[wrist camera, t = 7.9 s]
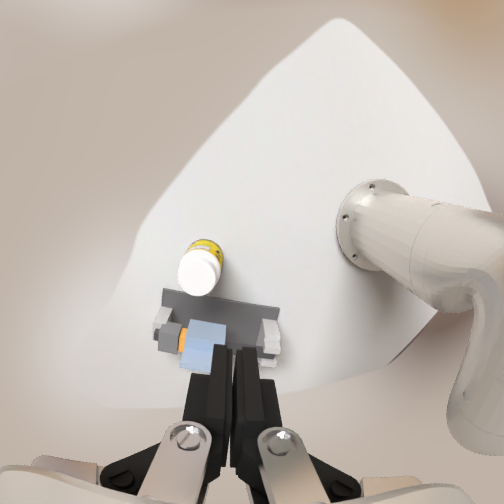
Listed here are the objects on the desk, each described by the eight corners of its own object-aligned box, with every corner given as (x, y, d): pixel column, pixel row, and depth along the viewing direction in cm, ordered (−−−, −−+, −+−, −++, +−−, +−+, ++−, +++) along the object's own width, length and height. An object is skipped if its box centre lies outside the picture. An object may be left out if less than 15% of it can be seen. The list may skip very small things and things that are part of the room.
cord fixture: (279, 307, 39) (286, 333, 33) (266, 354, 41) (271, 383, 35) (163, 288, 38) (149, 310, 31) (160, 336, 40) (148, 364, 33)
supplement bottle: (223, 274, 38) (219, 301, 30) (187, 273, 37) (175, 299, 29) (223, 238, 36) (219, 256, 28) (186, 237, 36) (172, 255, 28)
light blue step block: (226, 325, 36) (224, 358, 29) (221, 350, 37) (219, 385, 30) (190, 318, 35) (181, 350, 28) (187, 344, 36) (178, 378, 29)
